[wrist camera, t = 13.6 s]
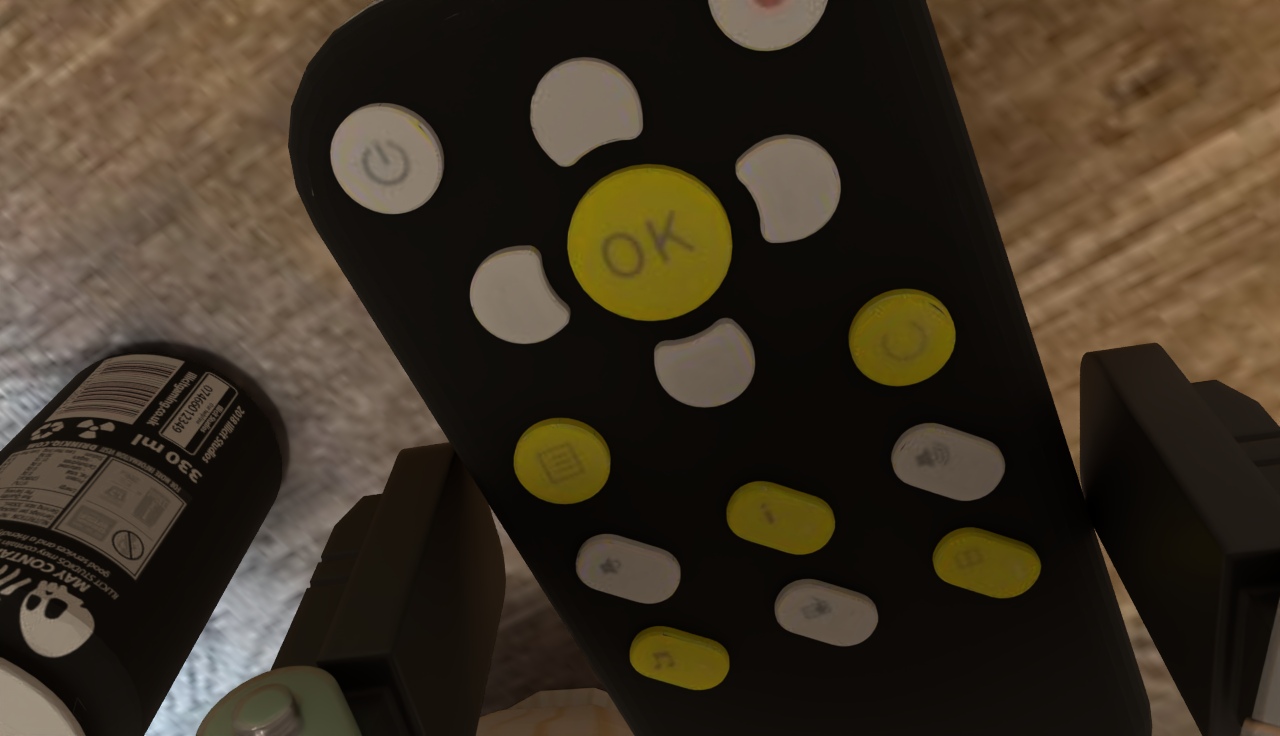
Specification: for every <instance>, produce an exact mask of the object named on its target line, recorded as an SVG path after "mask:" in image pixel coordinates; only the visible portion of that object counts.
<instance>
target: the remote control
mask: <svg viewBox="0 0 1280 736" xmlns="http://www.w3.org/2000/svg"><path fill="white" fill-rule="evenodd" d="M288 148H289V153H290V158H291V164H292V169H293V174H294V179H295V184H296V188H297V191H298V193H299V195H300V197H301V199H302V201H303V204H304V206H305V208H306V210H307V212H308V214H309V216H310V218H311V221H312V223H313V225H314V227H315V228H316V230H317V232H318V233H319V235H320V236H321V238H322V240H323V241H324V243H325V244H326V246H327V247H328V249H329V251H330V252H331V254H332V255H333V257H334V259H335V260H336V262H337V263H338V265H339V267H340V268H341V270H342V271H343V273H344V275H345V276H346V278H347V279H348V281H349V282H350V284H351V286H352V287H353V289H354V290H355V292H356V294H357V295H358V297H359V298H360V300H361V302H362V303H363V305H364V306H365V308H366V310H367V311H368V313H369V314H370V316H371V317H372V319H373V321H374V322H375V324H376V325H377V327H378V329H379V330H380V332H381V333H382V335H383V337H384V338H385V340H386V341H387V343H388V345H389V346H390V348H391V349H392V351H393V352H394V354H395V356H396V357H397V359H398V360H399V362H400V364H401V365H402V367H403V368H404V370H405V372H406V373H407V375H408V376H409V378H410V380H411V381H412V383H413V384H414V386H415V387H416V389H417V391H418V392H419V394H420V395H421V397H422V399H423V400H424V402H425V403H426V405H427V407H428V408H429V410H430V411H431V413H432V415H433V416H434V418H435V419H436V421H437V422H438V424H439V426H440V427H441V429H442V430H443V432H444V434H445V435H446V437H447V438H448V440H449V442H450V443H451V445H452V446H453V448H454V450H455V451H456V453H457V454H458V456H459V457H460V459H461V461H462V462H463V464H464V465H465V467H466V469H467V470H468V472H469V473H470V475H471V477H472V478H473V480H474V481H475V483H476V485H477V486H478V488H479V489H480V491H481V492H482V494H483V496H484V497H485V499H486V500H487V502H488V504H489V505H490V507H491V508H492V510H493V512H494V513H495V515H496V516H497V518H498V520H499V521H500V523H501V524H502V526H503V527H504V529H505V531H506V532H507V534H508V535H509V537H510V539H511V540H512V542H513V543H514V545H515V547H516V548H517V550H518V551H519V553H520V555H521V556H522V558H523V559H524V561H525V562H526V564H527V566H528V567H529V569H530V570H531V572H532V574H533V575H534V577H535V578H536V580H537V582H538V583H539V585H540V586H541V588H542V590H543V591H544V593H545V594H546V596H547V597H548V599H549V601H550V602H551V604H552V605H553V607H554V609H555V610H556V612H557V613H558V615H559V617H560V618H561V620H562V621H563V623H564V625H565V626H566V628H567V629H568V631H569V632H570V634H571V636H572V637H573V639H574V640H575V642H576V644H577V645H578V647H579V648H580V650H581V652H582V653H583V655H584V656H585V658H586V660H587V661H588V663H589V664H590V666H591V667H592V669H593V671H594V672H595V674H596V675H597V677H598V679H599V680H600V682H601V683H602V685H603V687H604V688H605V690H606V691H607V693H608V695H609V696H610V698H611V699H612V701H613V702H614V704H615V706H616V707H617V709H618V710H619V712H620V714H621V715H622V717H623V718H624V720H625V722H626V723H627V725H628V726H629V728H630V730H631V731H632V733H633V734H634V736H1151V735H1152V719H1151V710H1150V703H1149V699H1148V696H1147V693H1146V689H1145V686H1144V683H1143V680H1142V677H1141V674H1140V671H1139V668H1138V664H1137V661H1136V658H1135V655H1134V652H1133V649H1132V646H1131V642H1130V639H1129V636H1128V633H1127V630H1126V627H1125V624H1124V620H1123V617H1122V614H1121V611H1120V608H1119V605H1118V602H1117V599H1116V595H1115V592H1114V589H1113V586H1112V583H1111V580H1110V577H1109V573H1108V570H1107V567H1106V564H1105V561H1104V558H1103V555H1102V552H1101V548H1100V545H1099V542H1098V539H1097V536H1096V533H1095V530H1094V527H1093V524H1092V521H1091V517H1090V514H1089V511H1088V508H1087V504H1086V501H1085V498H1084V495H1083V492H1082V489H1081V486H1080V483H1079V479H1078V476H1077V473H1076V470H1075V467H1074V464H1073V461H1072V457H1071V454H1070V451H1069V448H1068V445H1067V442H1066V439H1065V436H1064V432H1063V429H1062V426H1061V423H1060V420H1059V417H1058V414H1057V410H1056V407H1055V404H1054V401H1053V398H1052V395H1051V392H1050V388H1049V385H1048V382H1047V379H1046V376H1045V373H1044V370H1043V367H1042V363H1041V360H1040V357H1039V354H1038V351H1037V348H1036V345H1035V341H1034V338H1033V335H1032V332H1031V329H1030V326H1029V323H1028V320H1027V316H1026V313H1025V310H1024V307H1023V304H1022V301H1021V298H1020V294H1019V291H1018V288H1017V285H1016V282H1015V279H1014V276H1013V272H1012V269H1011V266H1010V263H1009V260H1008V257H1007V254H1006V251H1005V247H1004V244H1003V241H1002V238H1001V235H1000V232H999V229H998V225H997V222H996V219H995V216H994V213H993V210H992V207H991V204H990V200H989V197H988V194H987V191H986V188H985V185H984V182H983V178H982V175H981V172H980V169H979V166H978V163H977V160H976V156H975V153H974V150H973V147H972V144H971V141H970V138H969V135H968V131H967V128H966V125H965V122H964V119H963V116H962V113H961V109H960V106H959V103H958V100H957V97H956V94H955V91H954V88H953V84H952V81H951V78H950V75H949V72H948V69H947V66H946V62H945V59H944V56H943V53H942V50H941V47H940V44H939V40H938V37H937V34H936V31H935V28H934V25H933V22H932V19H931V15H930V12H929V9H928V6H927V3H926V0H376V1H374V2H373V3H371V4H370V5H368V6H367V7H366V8H364V9H363V10H361V11H360V12H358V13H357V14H355V15H354V16H352V17H351V18H349V19H348V20H347V21H346V22H344V23H343V24H342V25H341V26H340V27H338V28H337V29H336V30H335V31H334V32H333V33H332V34H331V36H330V37H329V38H328V39H327V41H326V42H325V43H324V44H323V46H322V47H321V48H320V50H319V51H318V52H317V53H316V55H315V56H314V57H313V58H312V60H311V61H310V62H309V64H308V66H307V67H306V70H305V72H304V75H303V77H302V80H301V83H300V85H299V88H298V90H297V93H296V96H295V98H294V101H293V103H292V106H291V117H290V129H289V142H288Z"/></svg>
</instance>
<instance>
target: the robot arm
mask: <svg viewBox="0 0 1280 736" xmlns="http://www.w3.org/2000/svg"><path fill="white" fill-rule="evenodd" d="M1080 477H1081V485H1082V491H1083V495H1084V498H1085V501H1086V504H1087V508H1088V511H1089V514H1090V517H1091V521H1092V524H1093V527H1094V529H1095V531H1096V532H1097V534H1098V536H1099V538H1100V540H1101V542H1102V544H1103V546H1104V548H1105V550H1106V552H1107V554H1108V555H1109V557H1110V559H1111V561H1112V563H1113V565H1114V567H1115V569H1116V571H1117V573H1118V575H1119V577H1120V578H1121V580H1122V582H1123V584H1124V586H1125V588H1126V590H1127V592H1128V594H1129V596H1130V598H1131V600H1132V602H1133V603H1134V605H1135V607H1136V609H1137V611H1138V613H1139V615H1140V617H1141V619H1142V621H1143V623H1144V625H1145V626H1146V628H1147V630H1148V632H1149V634H1150V636H1151V638H1152V640H1153V642H1154V644H1155V646H1156V648H1157V649H1158V651H1159V653H1160V655H1161V657H1162V659H1163V661H1164V663H1165V665H1166V667H1167V669H1168V671H1169V673H1170V674H1171V676H1172V678H1173V680H1174V682H1175V684H1176V686H1177V688H1178V690H1179V692H1180V694H1181V696H1182V697H1183V699H1184V701H1185V703H1186V705H1187V707H1188V709H1189V711H1190V713H1191V715H1192V717H1193V719H1194V720H1195V722H1196V724H1197V726H1198V728H1199V730H1200V732H1201V734H1202V736H1280V427H1279V426H1278V425H1277V423H1276V422H1275V421H1274V420H1273V419H1272V418H1271V416H1270V415H1269V414H1268V413H1267V412H1266V411H1265V410H1264V408H1263V407H1262V406H1261V405H1260V404H1259V403H1258V402H1257V401H1255V400H1253V399H1251V398H1250V397H1248V396H1246V395H1244V394H1242V393H1240V392H1238V391H1236V390H1234V389H1233V388H1231V387H1229V386H1227V385H1225V384H1223V383H1221V382H1219V381H1217V380H1210V381H1203V382H1195V383H1190V382H1189V381H1188V379H1187V378H1186V377H1185V375H1184V374H1183V373H1182V372H1181V370H1180V369H1179V368H1178V367H1177V365H1176V364H1175V363H1174V362H1173V360H1172V359H1171V358H1170V356H1169V355H1168V354H1167V353H1166V351H1165V350H1164V349H1163V348H1162V347H1161V346H1160V345H1159V344H1157V343H1149V344H1142V345H1135V346H1128V347H1121V348H1114V349H1107V350H1100V351H1093V352H1087V353H1085V354H1084V355H1083V358H1082V361H1081V367H1080ZM321 558H322V562H319V563H318V565H317V567H316V569H315V571H314V574H313V576H312V578H311V580H310V584H311V587H310V588H307V589H306V592H305V594H304V596H303V598H302V601H301V603H300V605H299V607H298V610H297V612H296V614H295V616H294V619H293V621H292V623H291V626H290V628H289V630H288V632H287V635H286V637H285V639H284V641H283V644H282V646H281V648H280V650H279V653H278V655H277V657H276V659H275V662H274V664H273V666H272V668H271V671H269V672H266V673H263V674H261V675H258V676H256V677H254V678H252V679H250V680H248V681H246V682H244V683H243V684H241V685H239V686H238V687H236V688H235V689H234V690H232V691H231V692H229V693H228V694H227V695H226V696H224V697H223V698H222V699H221V700H220V701H219V702H218V703H217V704H216V705H215V706H214V707H213V708H212V709H211V710H210V711H209V713H208V714H207V715H206V717H205V718H204V719H203V721H202V723H201V725H200V726H199V728H198V731H197V733H196V736H476V732H477V727H478V723H479V718H480V713H481V708H482V703H483V698H484V694H485V689H486V684H487V679H488V674H489V670H490V665H491V660H492V655H493V650H494V645H495V641H496V636H497V631H498V626H499V621H500V616H501V612H502V607H503V602H504V597H505V588H506V575H505V563H504V556H503V551H502V546H501V543H500V539H499V536H498V533H497V529H496V526H495V523H494V520H493V517H492V513H491V510H490V507H489V504H488V502H487V500H486V499H485V497H484V496H483V494H482V492H481V491H480V489H479V488H478V486H477V485H476V483H475V481H474V480H473V478H472V477H471V475H470V473H469V472H468V470H467V469H466V467H465V465H464V464H463V462H462V461H461V459H460V457H459V456H458V454H457V453H456V451H455V450H454V448H453V446H452V445H451V443H450V442H449V443H442V444H435V445H428V446H421V447H414V448H407V449H403V450H401V451H400V452H399V454H398V456H397V459H396V461H395V464H394V466H393V469H392V471H391V474H390V476H389V479H388V481H387V484H386V486H385V489H384V491H383V494H377V495H370V496H363V497H362V498H361V499H360V500H359V501H358V502H357V503H356V504H355V505H354V507H353V508H352V509H351V510H350V511H349V512H348V513H347V514H346V515H345V516H344V517H343V518H342V519H341V520H340V521H339V522H338V523H337V524H336V525H335V526H334V528H333V531H332V533H331V535H330V537H329V540H328V542H327V544H326V546H325V549H324V551H323V553H322V556H321Z"/></svg>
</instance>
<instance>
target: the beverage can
mask: <svg viewBox="0 0 1280 736" xmlns="http://www.w3.org/2000/svg"><path fill="white" fill-rule="evenodd" d="M281 476H282V461H281V453H280V449H279V445H278V442H277V439H276V436H275V433H274V431H273V429H272V427H271V425H270V423H269V421H268V420H267V418H266V417H265V415H264V414H263V412H262V411H261V410H260V408H259V407H258V406H257V405H256V403H255V402H254V401H253V400H252V399H251V398H250V397H249V396H248V395H247V394H246V393H245V392H244V391H243V390H242V389H240V388H239V387H238V386H237V385H236V384H234V383H233V382H232V381H230V380H229V379H227V378H226V377H224V376H223V375H221V374H220V373H218V372H216V371H214V370H213V369H210V368H208V367H206V366H204V365H202V364H200V363H197V362H194V361H192V360H189V359H186V358H183V357H178V356H174V355H170V354H163V353H155V352H134V353H126V354H120V355H116V356H112V357H109V358H106V359H103V360H101V361H98V362H96V363H94V364H92V365H90V366H89V367H87V368H85V369H84V370H83V371H81V372H80V373H79V374H78V375H76V376H75V377H74V378H73V379H72V380H71V381H70V382H69V383H68V384H67V385H66V386H65V387H64V388H63V389H62V390H61V391H60V392H59V393H58V394H57V395H56V396H55V397H54V398H53V399H52V400H51V401H50V402H49V403H48V404H47V405H46V406H45V407H44V408H43V409H42V410H41V411H40V412H39V413H38V414H37V415H36V416H35V417H34V418H33V419H32V420H31V421H30V422H29V423H28V424H27V425H26V426H25V427H24V428H23V429H22V430H21V431H20V432H19V433H18V434H17V435H16V436H15V437H14V438H13V439H12V440H11V441H10V442H9V443H8V444H7V445H6V446H5V447H4V448H3V449H2V450H1V451H0V736H144V735H145V733H146V731H147V729H148V728H149V726H150V724H151V722H152V720H153V719H154V717H155V715H156V713H157V711H158V710H159V708H160V706H161V704H162V702H163V701H164V699H165V697H166V695H167V693H168V692H169V690H170V688H171V686H172V685H173V683H174V681H175V679H176V677H177V676H178V674H179V672H180V670H181V668H182V667H183V665H184V663H185V661H186V659H187V658H188V656H189V654H190V652H191V650H192V649H193V647H194V645H195V643H196V641H197V640H198V638H199V636H200V634H201V632H202V631H203V629H204V627H205V625H206V624H207V622H208V620H209V618H210V616H211V615H212V613H213V611H214V609H215V607H216V606H217V604H218V602H219V600H220V598H221V597H222V595H223V593H224V591H225V589H226V588H227V586H228V584H229V582H230V580H231V579H232V577H233V575H234V573H235V572H236V570H237V568H238V566H239V564H240V563H241V561H242V559H243V557H244V555H245V554H246V552H247V550H248V548H249V546H250V545H251V543H252V541H253V539H254V537H255V536H256V534H257V532H258V530H259V528H260V527H261V525H262V523H263V521H264V519H265V518H266V516H267V514H268V512H269V511H270V509H271V507H272V505H273V503H274V501H275V499H276V497H277V494H278V491H279V488H280V483H281Z"/></svg>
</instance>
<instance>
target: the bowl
mask: <svg viewBox="0 0 1280 736" xmlns="http://www.w3.org/2000/svg"><path fill="white" fill-rule="evenodd" d="M476 736H634V734H633V733H632V731H631V730H630V728H629V726H628V725H627V723H626V722H625V720H624V718H623V717H622V715H621V714H620V712H619V710H618V709H617V707H616V706H615V704H614V702H613V701H612V699H611V698H610V696H609V695H608V693H607V692H605V691H602V690H599V689H596V688H582V689H567V690H551V691H539V692H537V693H535V694H534V695H532V696H530V697H528V698H526V699H525V700H523V701H521V702H519V703H517V704H515V705H514V706H512V707H510V708H508V709H506V710H500V711H497V712H494V713H491V714H488V715H485V716H482V717H480V718H479V723H478V727H477V732H476Z"/></svg>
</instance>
